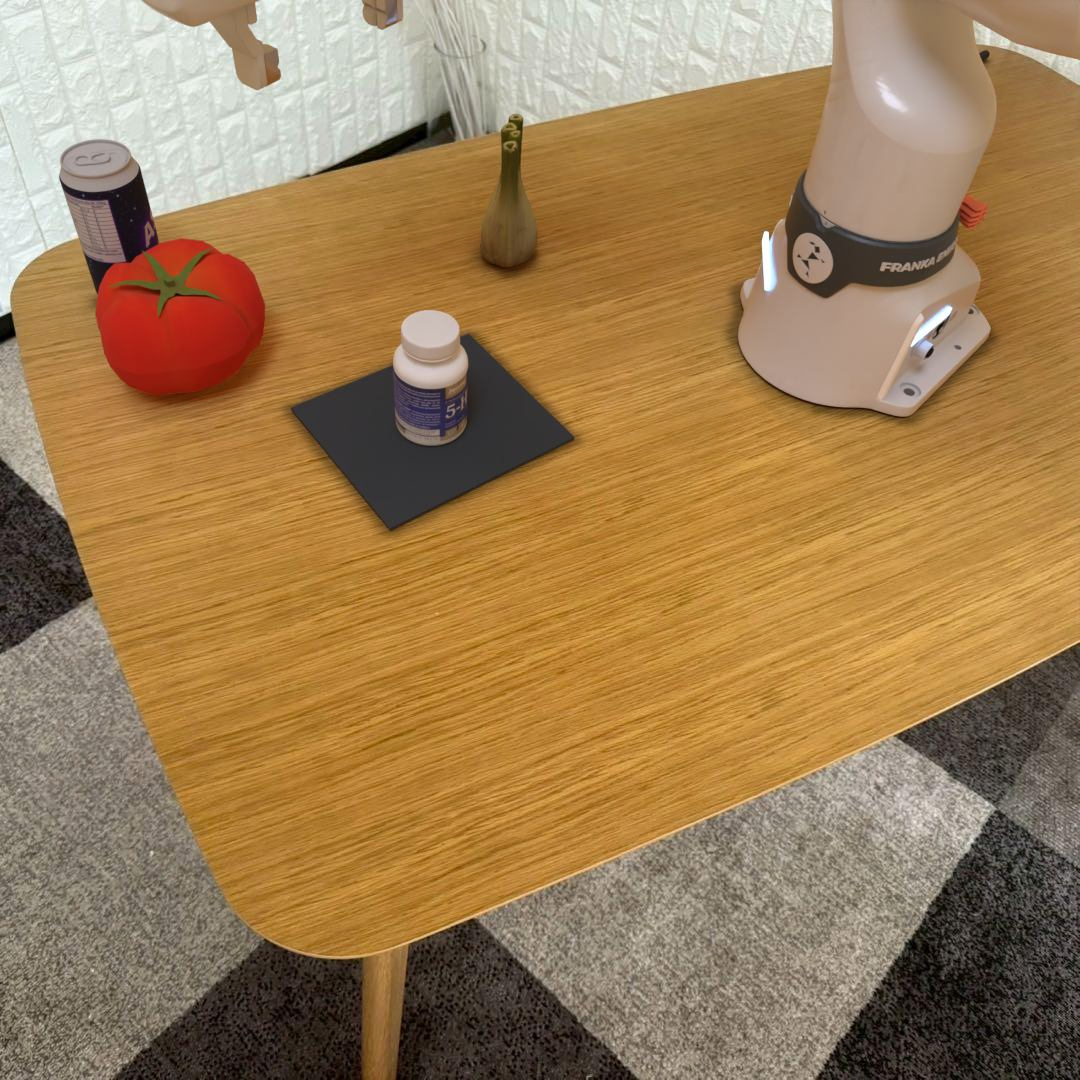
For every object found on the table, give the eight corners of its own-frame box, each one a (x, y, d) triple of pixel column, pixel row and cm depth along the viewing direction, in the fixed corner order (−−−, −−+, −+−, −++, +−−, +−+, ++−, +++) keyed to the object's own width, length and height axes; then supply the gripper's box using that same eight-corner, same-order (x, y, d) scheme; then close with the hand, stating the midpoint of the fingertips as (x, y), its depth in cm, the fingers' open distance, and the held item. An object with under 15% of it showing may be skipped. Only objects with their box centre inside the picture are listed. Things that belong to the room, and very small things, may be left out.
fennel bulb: (503, 231, 92) (509, 104, 83) (549, 251, 91) (560, 123, 81) (466, 262, 89) (468, 133, 79) (514, 283, 87) (521, 154, 78)
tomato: (189, 289, 84) (167, 197, 77) (305, 351, 80) (292, 259, 73) (65, 371, 77) (29, 278, 70) (185, 443, 73) (159, 351, 66)
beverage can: (174, 308, 82) (139, 173, 73) (99, 318, 81) (54, 182, 71) (167, 266, 85) (133, 132, 76) (96, 275, 84) (52, 140, 75)
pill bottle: (458, 453, 74) (459, 360, 67) (387, 441, 74) (381, 346, 67) (473, 404, 77) (476, 310, 70) (406, 392, 77) (402, 297, 71)
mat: (468, 336, 83) (468, 333, 82) (574, 439, 76) (574, 437, 76) (290, 410, 76) (290, 407, 76) (390, 531, 69) (389, 528, 69)
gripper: (152, -199, 38) (218, 147, 48) (493, -287, 49) (485, 11, 59) (43, -240, 40) (129, 100, 51) (394, -316, 51) (404, -23, 62)
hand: (324, 51), depth 55 cm, fingers open, 8 cm apart
